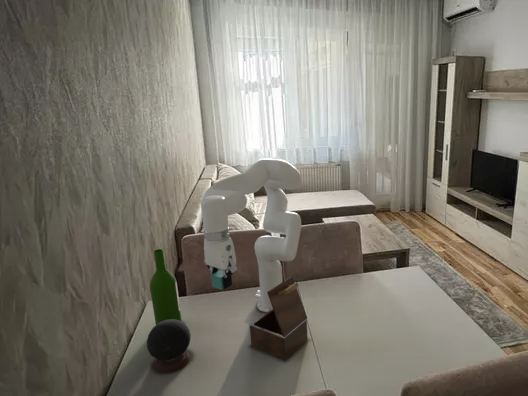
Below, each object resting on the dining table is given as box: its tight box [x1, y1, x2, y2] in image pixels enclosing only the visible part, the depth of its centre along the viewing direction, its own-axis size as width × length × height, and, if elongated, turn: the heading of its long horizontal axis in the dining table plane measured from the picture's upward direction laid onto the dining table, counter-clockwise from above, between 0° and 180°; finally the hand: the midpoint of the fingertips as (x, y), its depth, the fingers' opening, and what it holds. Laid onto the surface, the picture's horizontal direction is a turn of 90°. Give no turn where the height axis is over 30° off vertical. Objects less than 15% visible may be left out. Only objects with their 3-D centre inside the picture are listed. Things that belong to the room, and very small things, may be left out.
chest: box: [249, 309, 308, 361], centre depth 139 cm, size 16×13×9 cm
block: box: [210, 269, 228, 291], centre depth 127 cm, size 4×4×4 cm
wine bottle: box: [149, 248, 183, 326], centre depth 145 cm, size 9×9×32 cm
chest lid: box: [267, 275, 308, 337], centre depth 132 cm, size 17×13×5 cm
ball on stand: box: [146, 319, 192, 373], centre depth 129 cm, size 13×13×15 cm
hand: (222, 284), depth 127 cm, fingers closed on block, 4 cm apart
